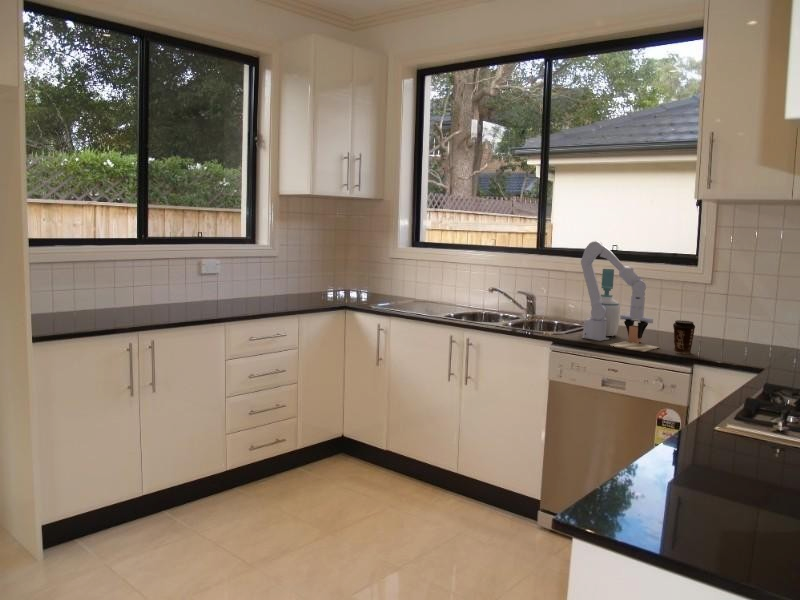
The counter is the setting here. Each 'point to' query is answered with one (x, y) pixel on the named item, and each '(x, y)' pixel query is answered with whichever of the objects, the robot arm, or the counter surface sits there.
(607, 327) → the soap bottle
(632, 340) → the block
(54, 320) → the counter surface
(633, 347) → the board
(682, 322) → the coffee cup
